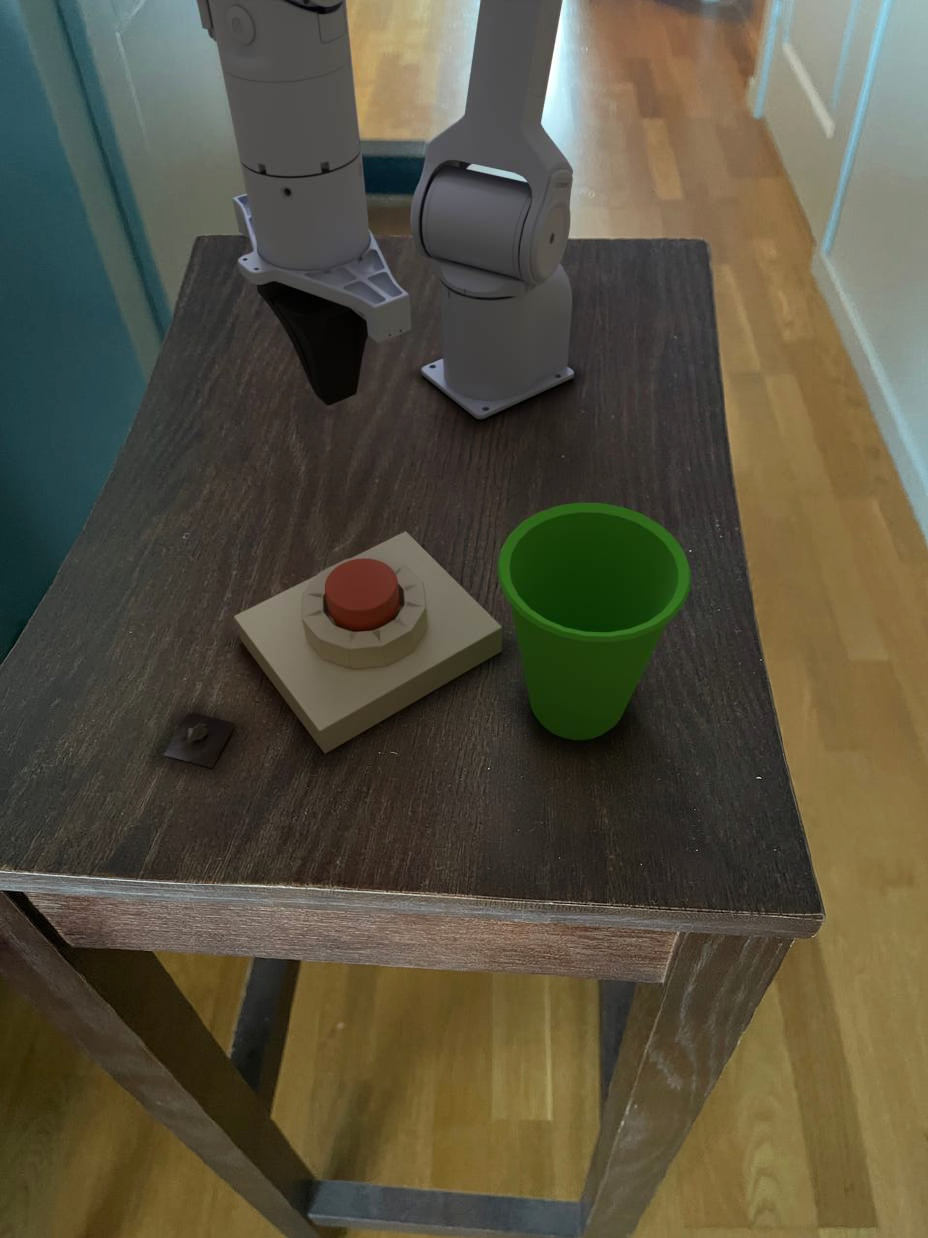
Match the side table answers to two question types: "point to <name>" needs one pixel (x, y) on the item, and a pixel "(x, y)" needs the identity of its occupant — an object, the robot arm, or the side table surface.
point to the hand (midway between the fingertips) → (336, 394)
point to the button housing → (368, 645)
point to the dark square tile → (199, 739)
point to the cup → (589, 609)
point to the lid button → (362, 594)
